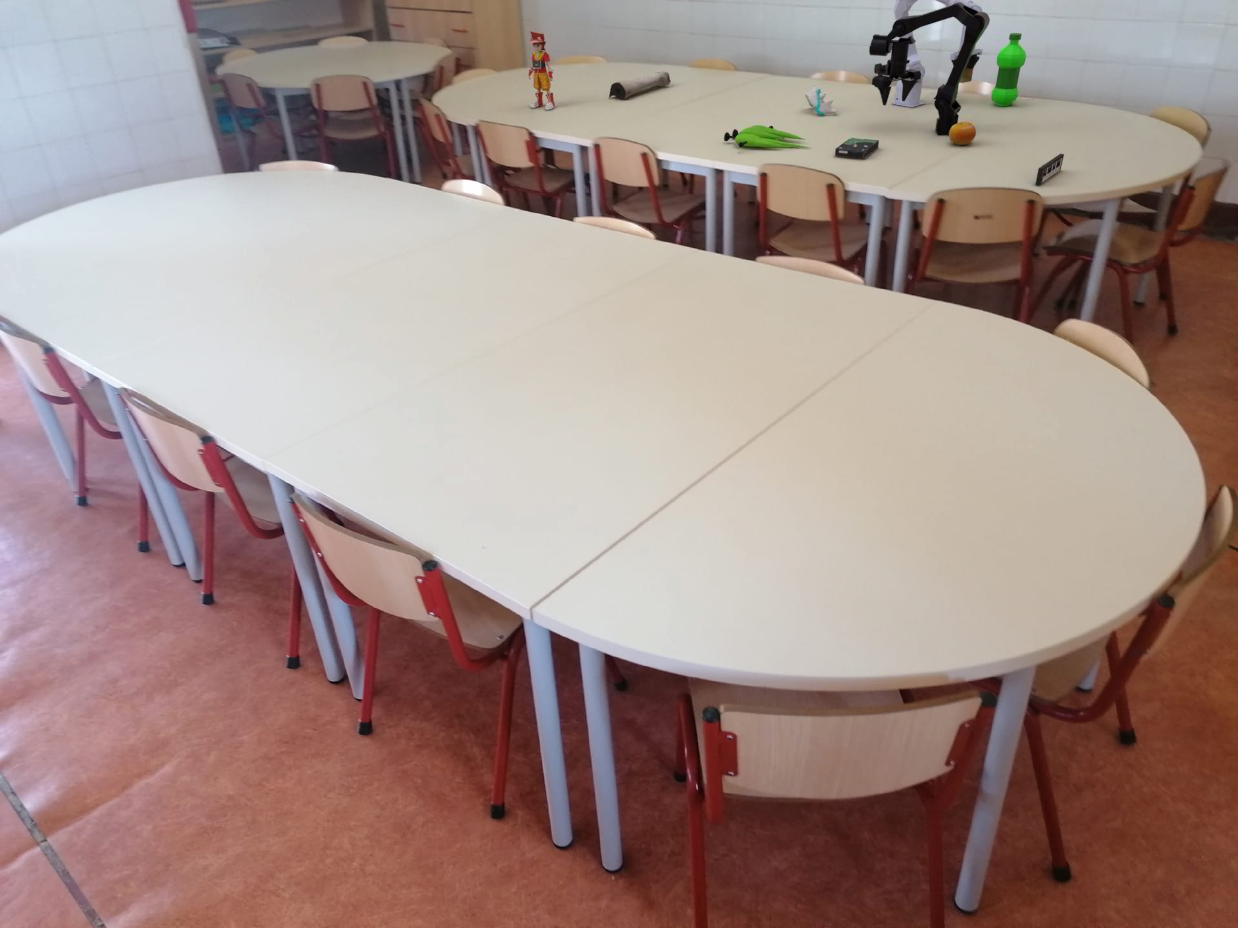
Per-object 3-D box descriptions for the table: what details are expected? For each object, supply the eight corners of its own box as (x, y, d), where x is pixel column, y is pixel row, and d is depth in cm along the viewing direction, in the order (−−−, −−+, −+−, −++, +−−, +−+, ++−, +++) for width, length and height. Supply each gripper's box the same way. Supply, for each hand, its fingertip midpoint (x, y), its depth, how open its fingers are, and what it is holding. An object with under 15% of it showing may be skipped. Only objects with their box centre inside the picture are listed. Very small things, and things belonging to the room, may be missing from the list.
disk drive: (864, 160, 299) (878, 148, 309) (864, 151, 297) (879, 139, 307) (834, 157, 304) (849, 145, 314) (835, 148, 302) (850, 136, 312)
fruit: (944, 129, 311) (958, 112, 304) (966, 137, 313) (980, 120, 306) (944, 146, 307) (958, 129, 300) (966, 154, 309) (980, 138, 302)
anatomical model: (800, 85, 355) (825, 78, 354) (804, 112, 360) (828, 105, 360) (810, 94, 342) (836, 87, 341) (813, 121, 348) (839, 114, 347)
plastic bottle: (1022, 104, 346) (1036, 33, 332) (1005, 109, 342) (1018, 37, 328) (1000, 100, 353) (1012, 30, 339) (983, 104, 349) (995, 34, 335)
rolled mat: (651, 76, 408) (662, 61, 399) (662, 93, 408) (674, 79, 400) (605, 92, 391) (616, 77, 383) (617, 110, 391) (628, 95, 383)
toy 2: (713, 146, 317) (792, 161, 304) (715, 131, 314) (794, 145, 301) (747, 132, 337) (821, 146, 325) (748, 118, 334) (824, 131, 322)
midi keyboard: (1039, 185, 269) (1043, 168, 266) (1035, 184, 270) (1038, 168, 267) (1060, 170, 279) (1064, 154, 277) (1056, 169, 280) (1060, 153, 277)
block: (961, 79, 352) (963, 67, 350) (971, 81, 349) (973, 69, 346) (952, 81, 351) (954, 69, 348) (962, 83, 347) (964, 71, 345)
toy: (525, 109, 381) (517, 32, 364) (534, 104, 388) (527, 28, 371) (550, 110, 377) (543, 32, 360) (559, 105, 384) (553, 28, 367)
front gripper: (902, 50, 326) (896, 95, 335) (863, 57, 318) (858, 103, 327) (925, 54, 318) (919, 100, 326) (885, 62, 310) (880, 109, 319)
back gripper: (974, 35, 347) (968, 73, 354) (946, 40, 342) (941, 78, 349) (988, 38, 341) (982, 76, 349) (960, 43, 336) (954, 81, 344)
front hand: (893, 103), depth 325 cm, fingers open, 9 cm apart
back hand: (962, 77), depth 349 cm, fingers closed on block, 5 cm apart
